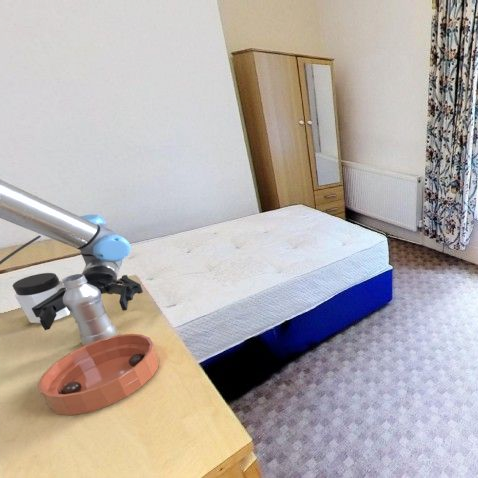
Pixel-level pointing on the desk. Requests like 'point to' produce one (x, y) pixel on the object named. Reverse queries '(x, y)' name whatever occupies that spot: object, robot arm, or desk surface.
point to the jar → (37, 293)
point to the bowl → (99, 374)
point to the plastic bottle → (87, 309)
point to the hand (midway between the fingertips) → (85, 315)
